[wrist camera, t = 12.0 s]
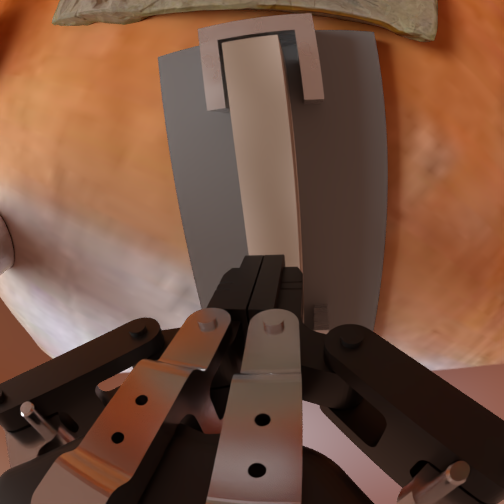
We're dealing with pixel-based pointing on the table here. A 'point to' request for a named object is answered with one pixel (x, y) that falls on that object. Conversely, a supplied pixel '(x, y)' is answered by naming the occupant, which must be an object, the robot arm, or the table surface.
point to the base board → (308, 169)
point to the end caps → (289, 33)
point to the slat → (264, 147)
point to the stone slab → (318, 3)
